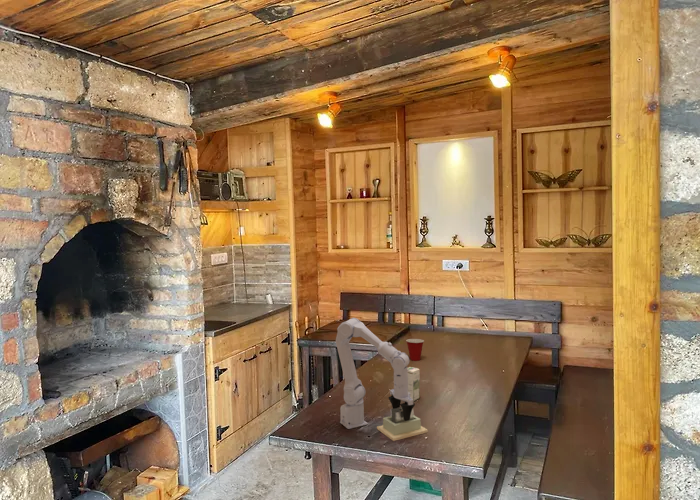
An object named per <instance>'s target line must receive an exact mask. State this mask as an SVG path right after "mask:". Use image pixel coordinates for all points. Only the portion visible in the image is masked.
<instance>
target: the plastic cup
mask: <svg viewBox="0 0 700 500" xmlns="http://www.w3.org/2000/svg"><path fill="white" fill-rule="evenodd" d="M405 341H406V344H407V349H408V354H409V360H411V361H414V362H419V361H420V360H421V357H422V356H421V355H422V350H423V346H424V342H425V340H424V339H420V338H409V339H406V340H405Z"/></svg>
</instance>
